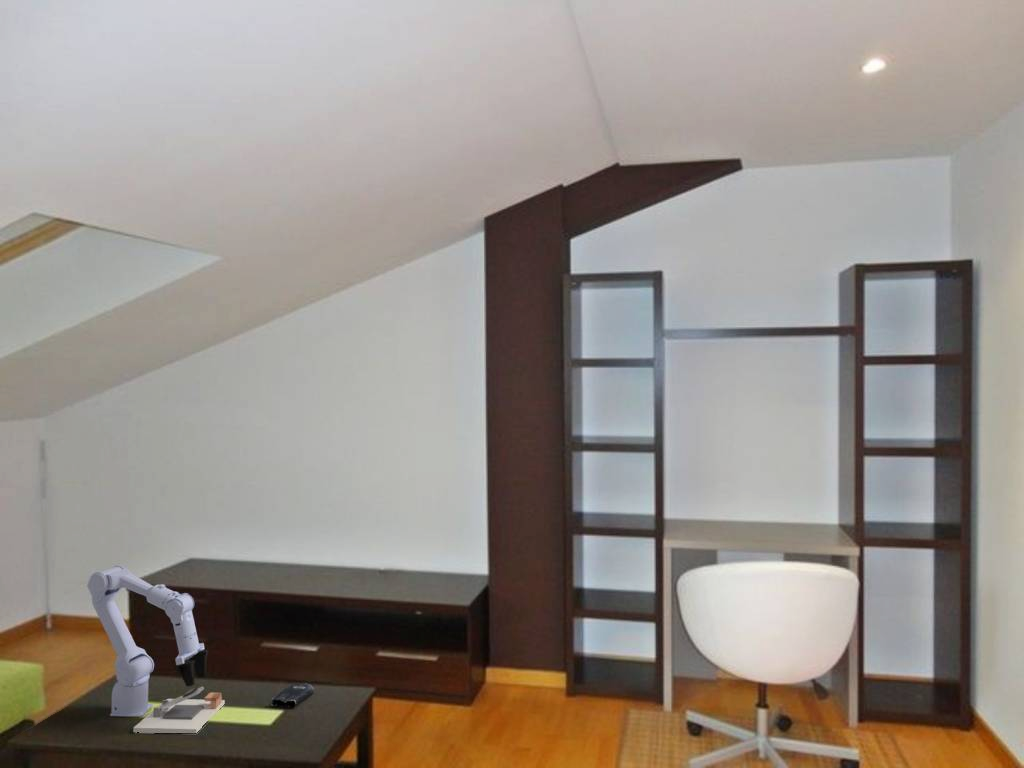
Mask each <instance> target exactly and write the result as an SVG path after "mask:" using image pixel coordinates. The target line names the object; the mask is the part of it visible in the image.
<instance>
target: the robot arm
mask: <svg viewBox="0 0 1024 768" xmlns="http://www.w3.org/2000/svg"><path fill="white" fill-rule="evenodd" d="M86 587H87V588H88V590H89V592H90V595H91V601H92V606H93V609H94V610H95V612H96V615H97V616H98V618H99V621H100V622H101V625H102V626H103V629H104V631H105V633H106V635H107V637H108V639H109V642H110V643H111V645H112V648H113V650H114V652H115V653H116V655H117V657H116V660H115V663H114V664H113V667H114V669H115V676H116V681H117V682H115V684H114V686H113V688H112V691H111V713H109V716H110V717H130V718H131V717H134V718H135V717H136V718H139V717H141V718H142V717H143V716H144V715H145V714H146V713H147V712H149V710H151V709H153V708H154V707H155V706H154V703H153V704H152V703H149V679H150V676H151V675H150V674H152V673H153V671H154V668H155V662H154V660H153V659H152V657H151V656H149V655H148V653H147V652H146V650H145V649H144V648H141V647H139V646H137V645H136V643H135V641H134V639H133V635H132V634H131V632H130V630H129V628H128V626H127V624H126V621H125V620H124V618H123V616H122V613H121V612H120V609H119V608H118V605H117V604H116V601H115V600H116V597H117V595H118V594H119V592H120V591H121V589H124V588H125V589H126V590H129V591H132V592H134V593H136V594H139V595H142V596H144V597H146V601H147V603H149V604H151V605H154V606H156V607H157V608H159V609H162V610H164V612H165V614H166V616H167V617H168V618H169V619H170V623H172V625H173V631H174V635H175V640H176V644H177V645H176V646H177V649H178V655H177V656H176V658H174V660H175V664H174V665H173V669H174V670H176V672H177V673H178V674H179V675H180V676H181V678H182V680H183V682H184V685H185V686H186V687H192V686H194V685H196V684H195V682H196V681H195V675H196V677H197V678H198V679H200V678H203V677H206V675H207V658H208V655H209V649H205V644H204V642H199V637H198V633H197V629H196V625H195V618H194V615H193V609H194V607H195V600H194V597H192V595H190V594H189V593H187V592H184V593H179V591H174V590H171V589H170V588H168V587H166V585H165V584H163V583H162V584H155V585H152V584H151V583H148V582H147V581H146V580H144V579H141V578H140V577H138V576H136V575H135V574H133V573H131V571H130V569H129V568H126V567H123V566H122V565H115V566H113V567H110V568H108V569H105V570H100V571H97V572H93V574H92V575H91V576H90V577H89V580H88V583H87V586H86ZM150 708H151V709H150Z"/></svg>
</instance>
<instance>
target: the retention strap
mask: <svg viewBox="0 0 1024 768" xmlns="http://www.w3.org/2000/svg"><path fill="white" fill-rule="evenodd" d="M203 690H205V688H204V686H200V687H198V688H197V686H196V687H194V688H192V689H189V690H188V691H186V692H185V693H184V694H183V695H181V696H178V697H176V698H172V699H173V700H171V701H169V702H167V703H163V704H162V703H161V704H160V706H159V705H158V706H159V707H160V711H162V710H164V709H166V708H168V707H171V706H173V705H175V704H177V703H179V702H182V701H184V700H186V699H191V698H193V697H195V696H197V695H199V694H200V693H201V692H203Z"/></svg>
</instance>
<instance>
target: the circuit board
mask: <svg viewBox="0 0 1024 768" xmlns="http://www.w3.org/2000/svg"><path fill="white" fill-rule="evenodd" d="M173 699H174V698H167V699H162V701H161V704H163V703H167V702H169V701H171V700H173ZM225 701H226V700H225V699H222V700H221V704H220V705H219V706H218V707H217V708H210V705H211V701H205V699H194V698H193V699H191V698H188V699H186V700H184V701H182V702H179V703H177V704H175V705H173V706H171V707H168V708H166V709H164V710H162V711H160V707H159V706H160V705H161V704H160V705H158V706H153V708H152V709H153V711H151V712H150V713H149V714H147V715H146V716H145V717H144V718H143V719H142V720H141V721H139V723H137V724H135V726H133V731H132V733H133V732H135V733H134V734H154V733H197V732H198V731H199V730H200V729H201V728H202V726H203V725H204V724H205V723H206V722H207V721H208V720H209V719H210V718H211V717H212V716H213V715H214V714H215V713H216V711H218V710H219V709H220V708H221V707H222V706H223V705H224V704H226V703H225ZM224 706H225V705H224ZM224 706H223V707H224ZM223 707H222V708H223ZM222 708H221V709H222ZM221 709H220V710H221ZM220 710H219V711H220ZM219 711H218V712H219ZM216 714H217V713H216ZM202 729H203V728H202ZM202 729H201V730H202ZM201 730H200V731H201ZM200 731H199V732H200ZM137 732H139V733H137ZM199 732H198V733H199ZM198 733H197V734H198Z"/></svg>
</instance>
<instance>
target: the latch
mask: <svg viewBox="0 0 1024 768" xmlns="http://www.w3.org/2000/svg"><path fill="white" fill-rule="evenodd" d="M222 696H223V695H222V692H209V693H208V694H207V695H206V696H204V700H205V701H211V705H210V708H217V707H218V706H219V705H220V704H221V700H223V698H222Z"/></svg>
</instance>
